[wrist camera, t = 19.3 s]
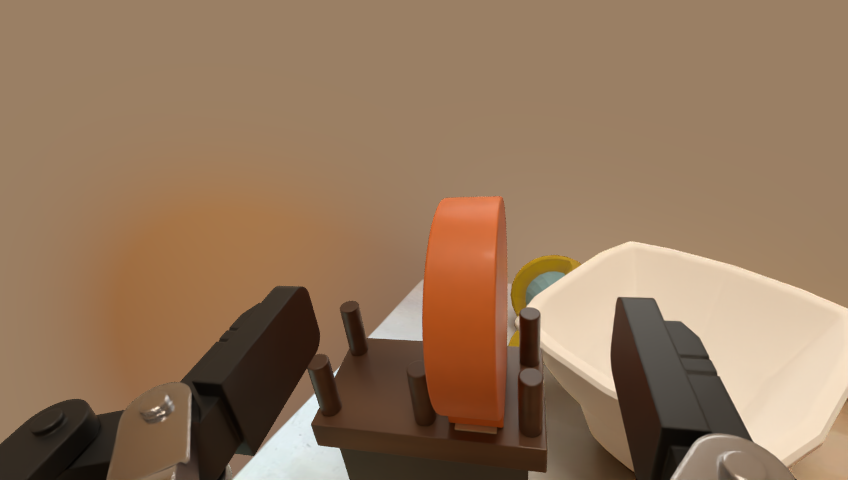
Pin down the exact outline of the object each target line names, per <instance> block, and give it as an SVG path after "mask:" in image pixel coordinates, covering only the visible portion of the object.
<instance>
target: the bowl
mask: <svg viewBox="0 0 848 480" xmlns="http://www.w3.org/2000/svg"><path fill="white" fill-rule="evenodd" d="M618 297H641V298H654V299H655V300H656V302H657V305H658V307H659V309H660V312H661V314H662V316H663V319H664V321H681V322H682V323H684V324H685V325H686V326H687V327H688V328H689V329H690V330H692V331H693V332H694V333H695V334H696V335H697V336H698V337H700V339H701V341H702V343H703V345H704V347H705V349H706V351H707V353H708V355H709V360H711V361H712V363H713V365H714V367H715V368H716V370H717V375H718V376H720V378H721V380H722V382H723V384H724V386H725V388H726V390H727V392H728V394H729V396H730V398H731V400H732V401H733V403H734V405H735V407H736V409H737V411H738V413H739V415H740V417H741V419H742V421H743V423H744V425H745V427H746V429H747V431H748V433H749V435H750V436H751V438H752V440H753V442H754V443H756V444H758V445H759V446H761V447H763V448H765V449H766V450H768V451H769V452H770V453H772V454H773V455H774V456H776V457H777V458H778V459H779V460H780V461H781V462H782V463H783V464H784V465H785V466H786V467H787V468H788V469H789V468H790V467H792V466H793V465H794V464H796V463H797V462H799V461H800V460H802V459H803V458H805V457H806V456H807V455H809V454H810V453H812V452H813V451H815V450H816V449H817V448H819V447H820V446H821V445H822V443H823V442H824V440H825V438H826V436H827V434H828V433H829V431H830V429H831V427H832V425H833V423H834V422H835V420H836V418H837V416H838V414H839V412H840V411H841V409H842V407H843V405H844V403H845V401H846V399H847V398H848V309H847V308H845V307H842V306H840V305H838V304H835V303H833V302H831V301H828V300H826V299H824V298H821V297H819V296H817V295H814V294H812V293H810V292H807V291H805V290H802V289H800V288H797V287H794V286H791V285H788V284H785V283H783V282H780V281H777V280H774V279H771V278H768V277H765V276H763V275H760V274H757V273H754V272H751V271H748V270H745V269H742V268H740V267H737V266H734V265H730V264H727V263H723V262H719V261H715V260H711V259H707V258H703V257H700V256H696V255H693V254H689V253H685V252H681V251H678V250H674V249H669V248H664V247H659V246H653V245H648V244H643V243H638V242H632V241H631V242H627V243H624V244H622V245H619V246H616V247H614V248H611V249H608V250H605V251H603V252H601V253H599V254H597V255H596V256H594V257H593V258H591V259H590V260H588V261H587V262H585V263H584V264H582V265H580V266H579V267H577V268H576V269H574V270H573V271H571V272H570V273H568V274H567V275H565V276H564V277H562V278H561V279H559V280H558V281H556V282H555V283H554V284H552V285H551V286H549V287H548V288H546V289H545V290H543V291H542V292H541V293H539V294H538V295H536V296H535V297H534V298H533V299H532V300H531V302H530V303H529V304H528V305H527V307H532V308H536V309H537V310H539V312H540V313H541V329H540V348H542V353H543V363H544V364H545V366H546V367H547V368H548V370H549V371H550V372H551V373H552V375H553V376H554V377H555V379H556V380H557V381H558V382H559V384H560V385H561V386H562V387H563V388H564V389H565V390H566V391H567V392H568V393H569V394H570V395H571V396H572V397H573V398H574V399H575V400H576V401H577V402H578V403H579V404H580V405H581V407H582V410H583V413H584V416H585V419H586V421H587V424H588V427H589V430H590V432H591V434H592V436H593V437H594V438H595V439H596V440H597V441H598V442H599V443H600V444H601V445H602V446H603V447H604V448H605V449H606V450H607V451H608V452H609V453H610V454H612V455H613V456H614V457H615V458H617V459H618V460H619V461H620V462H621V463H623V464H624V465H625V466H626V467H628V468H629V469H631V470H632V471H634V467H633V463H632V459H631V454H630V450H629V446H628V441H627V437H626V433H625V428H624V424H623V419H622V415H621V411H620V406H619V402H618V398H617V393H616V389H615V384H614V380H613V376H612V370H611V360H610V350H611V340H612V332H613V323H614V315H615V307H616V301H617V298H618ZM515 327H516V329H517V330H518V331H519V316H518V318H517V319H516V320H515Z"/></svg>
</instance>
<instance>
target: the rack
mask: <svg viewBox="0 0 848 480" xmlns="http://www.w3.org/2000/svg"><path fill="white" fill-rule="evenodd" d="M340 311H341V316H342V320H343V324H344V327H345V332H346V335H347V339H348V343H349V347H350V348H349V351H348V352H347V355H346V356H345V358H344V360H343V362H342V364H341V366H340V368H339V370H338V372H337V374H336V376H335V378H334V375H333V371H332V368H331V364H330V361H329V358H328V357H327V356H326V355H324V354H317V355H314V357H313V359H312V360H311V362H310V364H309V365H308V367H307V369H308V372H309V375H310V378H311V381H312V385H313V388H314V391H315V394H316V397H317V400H318V403H319V406H320V408H319V410H318V411H317V413H316V415H315V417H314V419H313V421H312V423H311V426H312V429H313V432H314V435H315V438H316V441H317V444H318V445H320V446H328V447H336V448H344V449H353V450H361V451H369V452H377V453H386V454H394V455H402V456H411V457H419V458H427V459H435V460H444V461H452V462H460V463H469V464H477V465H485V466H493V467H502V468H510V469H518V470H526V471H535V472H543V473H546V471H547V435H546V414H545V394H544V374H543V353H542V348H540V329H541V313H540V312H539V310H537V309H536V308H532V307H526V308H523V309H522V310H521V311H520V312H519V347H517V346H507V371H506V391H505V411H504V426H503V428H500V427H490V426H480V425H469V424H459V423H450V422H449V421H448V416H441V415H439V414H437V413H436V412H435V410H434V409H433V406H432V404H431V401H430V397H429V393H428V388H427V382H426V375H425V367H424V355H423V341H409V340H391V339H373V338H366V335H365V331H364V326H363V322H362V317H361V312H360V308H359V304H358V303H357V302H356V301H348V302H345V303H343V304H342V305H341V307H340Z"/></svg>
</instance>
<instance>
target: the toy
mask: <svg viewBox="0 0 848 480" xmlns="http://www.w3.org/2000/svg"><path fill="white" fill-rule="evenodd" d="M580 265H582V264H580V263H579V262H578V261H575V260H573V259H571V258H568V257H565V256H559V255H550V256H542V257H540V258H537V259H534V260H532V261H531V262H529V263H527V264H526V265H525V266H523V267H522V269H521V270H520V271H519V272H518V273H517V275H516V277H515V279H514V281H513V284H512V289H511V300H512V306H513V308H514V310H515V312H516V315H517V316H519V312H520V311H521V310H522V309H523V308H526V307H527V305H528V304H529V303H530V302H531V300H532V299H533V298H534V297H535V296H536V295H538V294H539V293H541V292H542V291H543V290H545V289H546V288H548V287H549V286H551V285H552V284H554V283H555V282H556V281H558V280H559V279H561V278H562V277H564V276H565V275H567V274H568V273H570V272H571V271H573V270H574V269H576V268H577V267H579V266H580ZM508 346H517V347H519V331H518V330H517V331H516V332H515V333H514V335H513V336H512V338H511V340H510V343H509V345H508Z"/></svg>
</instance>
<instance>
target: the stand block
mask: <svg viewBox="0 0 848 480" xmlns="http://www.w3.org/2000/svg"><path fill="white" fill-rule="evenodd" d="M340 450H341V453H342V457H343V460H344V463H345V466H346V469H347V473H348V476H349V479H350V480H528V471H526V470H518V469H510V468H502V467H493V466H485V465H477V464H469V463H460V462H452V461H444V460H435V459H427V458H419V457H411V456H402V455H394V454H386V453H377V452H369V451H361V450H353V449H344V448H340Z"/></svg>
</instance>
